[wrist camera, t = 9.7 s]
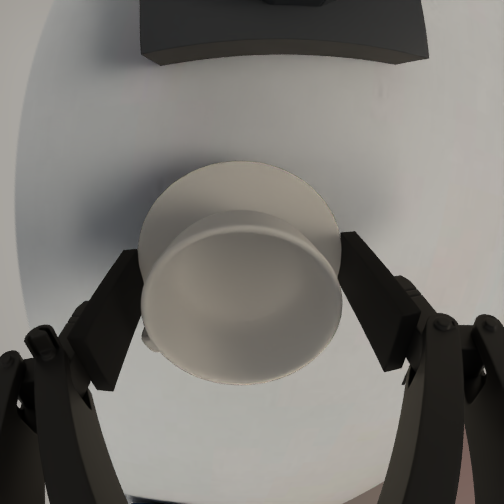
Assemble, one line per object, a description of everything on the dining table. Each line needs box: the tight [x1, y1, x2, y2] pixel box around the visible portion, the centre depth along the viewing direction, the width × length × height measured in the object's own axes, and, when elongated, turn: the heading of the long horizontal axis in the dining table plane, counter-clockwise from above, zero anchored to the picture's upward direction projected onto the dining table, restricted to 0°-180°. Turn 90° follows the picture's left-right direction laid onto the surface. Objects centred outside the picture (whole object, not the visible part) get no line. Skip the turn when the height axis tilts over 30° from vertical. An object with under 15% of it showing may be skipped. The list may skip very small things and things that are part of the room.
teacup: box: [138, 161, 342, 385], centre depth 13 cm, size 10×10×5 cm
